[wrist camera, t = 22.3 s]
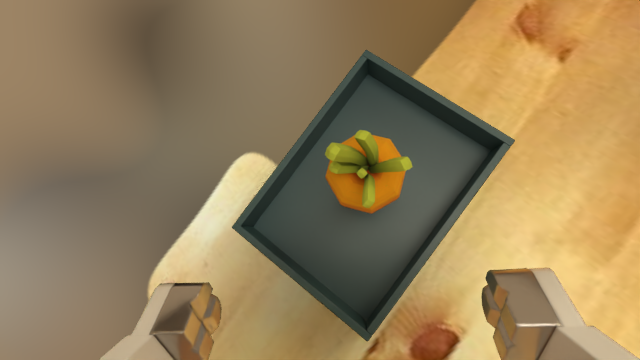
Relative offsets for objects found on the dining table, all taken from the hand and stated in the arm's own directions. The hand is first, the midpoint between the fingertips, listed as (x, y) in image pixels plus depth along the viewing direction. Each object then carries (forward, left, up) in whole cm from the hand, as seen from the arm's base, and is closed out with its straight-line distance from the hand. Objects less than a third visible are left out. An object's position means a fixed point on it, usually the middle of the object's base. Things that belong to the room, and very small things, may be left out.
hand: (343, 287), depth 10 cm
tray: (+5, +1, -20) cm, 21 cm away
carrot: (+5, +1, -20) cm, 21 cm away
